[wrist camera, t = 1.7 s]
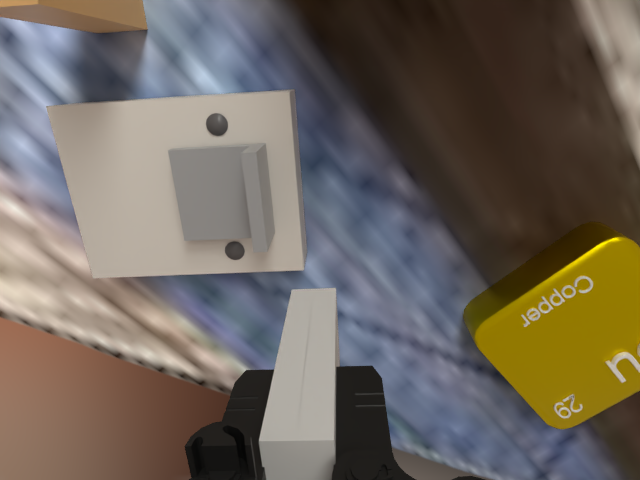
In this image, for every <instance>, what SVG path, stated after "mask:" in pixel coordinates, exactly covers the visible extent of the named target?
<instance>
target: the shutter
mask: <svg viewBox="0 0 640 480" xmlns="http://www.w3.org/2000/svg"><path fill="white" fill-rule="evenodd" d="M168 154H169V159H170V165H171V170H172V176H173V181H174V187H175V192H176V197H177V203H178V208H179V214H180V219H181V225H182V230H183V236H184V241H194V240H217V239H240V238H252V245H253V253H254V252H268V249H269V247H270V244H271V242H272V239H273V237H274V234H275V226H274V216H273V206H272V197H271V187H270V178H269V168H268V158H267V149H266V143H259V144H241V145H224V146H206V147H188V148H173V149H170V150H168Z"/></svg>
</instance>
